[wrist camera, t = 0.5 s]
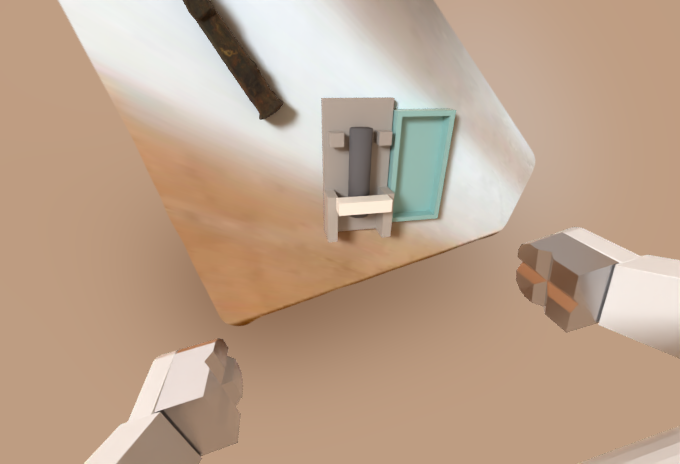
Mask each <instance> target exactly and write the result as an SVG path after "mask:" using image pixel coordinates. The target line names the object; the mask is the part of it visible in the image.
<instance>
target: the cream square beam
mask: <svg viewBox="0 0 680 464" xmlns="http://www.w3.org/2000/svg"><path fill="white" fill-rule="evenodd" d="M392 201H393V200H392V199H391V198H390V197H389V196H388V195H387V194H386V195H372V196H357V197H342V198H336V210H337V212H338V215H339V216H346V215H359V214H372V213H384V212H392Z"/></svg>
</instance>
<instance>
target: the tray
mask: <svg viewBox="0 0 680 464" xmlns="http://www.w3.org/2000/svg"><path fill="white" fill-rule="evenodd" d="M455 114H456V110H453V109H393V121H392V132H393V133H392V145H390V158H389V170H388V182H387V187H388V188H389V189H390V190H391V191H392V192H393V193H394V204H393V214H392V222H399V221H411V220H423V219H435V218H438V213H439V207H440V201H441V196H442V190H443V184H444V178H445V172H446V166H447V161H448V155H449V149H450V143H451V137H452V131H453V126H454V120H455Z"/></svg>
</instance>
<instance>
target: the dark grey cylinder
mask: <svg viewBox="0 0 680 464" xmlns="http://www.w3.org/2000/svg"><path fill="white" fill-rule="evenodd" d="M372 136H373V128H370V127H351V128H350V129H349V180H348V197H357V196H369V192H370V174H371V155H372ZM349 216H350V217H353V218H364V217H367V216H368V214H359V215H349Z"/></svg>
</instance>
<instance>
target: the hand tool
mask: <svg viewBox="0 0 680 464" xmlns="http://www.w3.org/2000/svg"><path fill="white" fill-rule="evenodd" d="M183 2H184V4H185V5H186V7H187V9H188V11H189V13H190V14H191V15H192V16H193V17H194V19H195V20H196V21H197V23H198V24H199V26H200V27H201V29H202V30H203V32H204V33H205V34H206V36H207V37H208V39H209V40H210V42H211V43H212V45H213V46H214V48H215V49H216V51H217V52H218V54H219V55H220V57H221V59H222V60H223V61H224V63H225V64H226V66H227V67H228V69H229V70H230V72H231V73H232V74H233V76H234V77H235V79H236V80H237V82H238V83H239V85H240V86H241V88H242V89H243V90H244V92H245V93H246V95H247V96H248V98H249V99H250V101H251V102H252V103H253V104H254V106H255V107H256V108H257V110H258V111H259V113H260V115H259V119H260V120H262V119H265V118H267V117H269V116H270V115H272V114H274V113H275V112H276V111H278V110H279V109H280V107H281V106H282V105H283V101H281V100H279V99H277V98H276V96H275V93H274V92H273V91H271V90H270V88H269V86H268V85H267V83H266V82H265V79H264V78H263V77H262V75H261V73H260V71H259V69H257V66H256V64H255V63H254V62H253V61H252V60H251V59H250V58H249V57H248V56H247V54H246V53H245V51H244V50H243V48H242V47H241V46H240V44H239V43H238V41H237V40H236V38H235V37H234V36H233V34H232V32H231V31H230V30H229V28H228V27H227V25H226V24H225V22H224V21H223V19H222V18H221V16H220V15H219V14H218V12H217V11H216V9H215V8H214V6H213V4H212V3H211V2H210V0H183Z"/></svg>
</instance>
